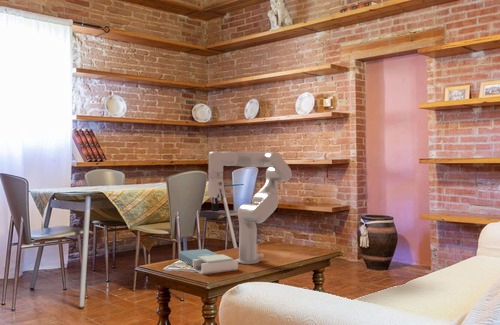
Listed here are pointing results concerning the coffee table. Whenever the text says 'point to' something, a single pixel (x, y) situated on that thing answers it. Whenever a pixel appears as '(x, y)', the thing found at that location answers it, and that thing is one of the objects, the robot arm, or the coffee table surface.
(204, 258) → the cover
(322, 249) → the coffee table surface
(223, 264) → the white channel
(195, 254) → the book
